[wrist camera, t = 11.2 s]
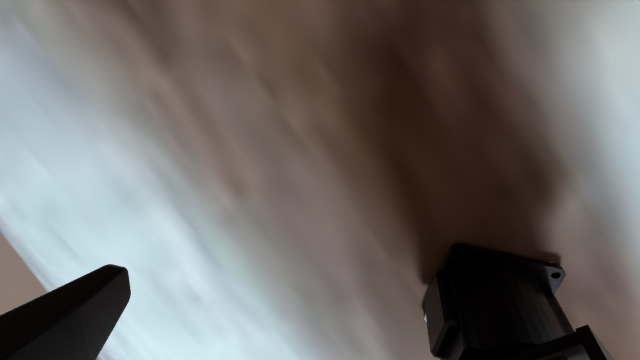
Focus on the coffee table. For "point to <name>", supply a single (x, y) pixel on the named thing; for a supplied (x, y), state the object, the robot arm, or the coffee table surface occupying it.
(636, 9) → the coffee table surface
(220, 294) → the coffee table surface
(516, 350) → the robot arm
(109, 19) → the coffee table surface
